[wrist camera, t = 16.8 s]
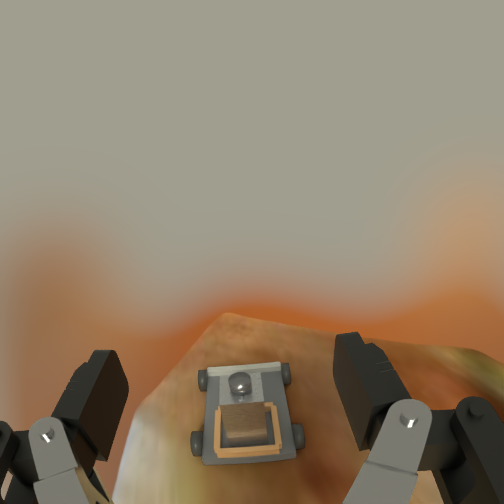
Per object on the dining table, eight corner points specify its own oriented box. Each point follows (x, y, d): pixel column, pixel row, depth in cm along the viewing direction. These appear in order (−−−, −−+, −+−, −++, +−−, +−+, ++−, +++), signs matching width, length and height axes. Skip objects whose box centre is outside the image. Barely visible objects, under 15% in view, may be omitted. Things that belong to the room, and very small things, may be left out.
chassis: (203, 378, 51) (199, 362, 50) (287, 371, 51) (286, 355, 50) (195, 464, 34) (189, 451, 33) (305, 456, 34) (306, 442, 33)
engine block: (228, 420, 40) (218, 367, 36) (264, 417, 40) (259, 363, 37) (229, 447, 35) (217, 396, 32) (267, 444, 36) (263, 392, 32)
